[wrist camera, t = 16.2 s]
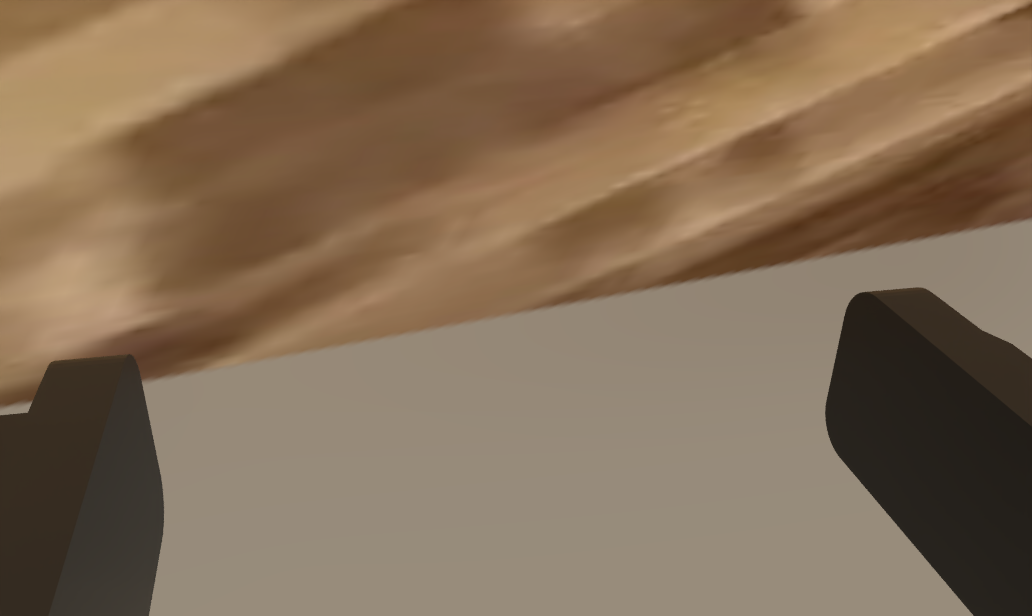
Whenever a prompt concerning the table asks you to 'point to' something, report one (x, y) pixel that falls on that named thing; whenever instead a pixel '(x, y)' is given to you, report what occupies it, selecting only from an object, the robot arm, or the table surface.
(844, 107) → the table surface
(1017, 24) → the table surface
